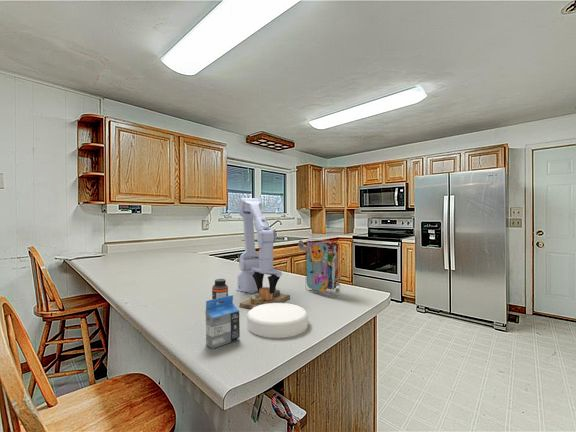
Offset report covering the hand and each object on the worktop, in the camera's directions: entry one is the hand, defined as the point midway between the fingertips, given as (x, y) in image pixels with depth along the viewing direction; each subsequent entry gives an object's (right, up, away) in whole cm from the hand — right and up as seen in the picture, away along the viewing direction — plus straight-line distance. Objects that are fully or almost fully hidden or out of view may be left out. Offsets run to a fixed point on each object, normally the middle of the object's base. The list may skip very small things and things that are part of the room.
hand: (265, 291), depth 117 cm
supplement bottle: (-17, -5, -8) cm, 19 cm away
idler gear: (0, -3, 0) cm, 3 cm away
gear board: (0, -4, 0) cm, 4 cm away
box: (+22, -5, +17) cm, 28 cm away
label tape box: (-9, -5, -36) cm, 38 cm away
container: (+6, -5, -23) cm, 24 cm away
